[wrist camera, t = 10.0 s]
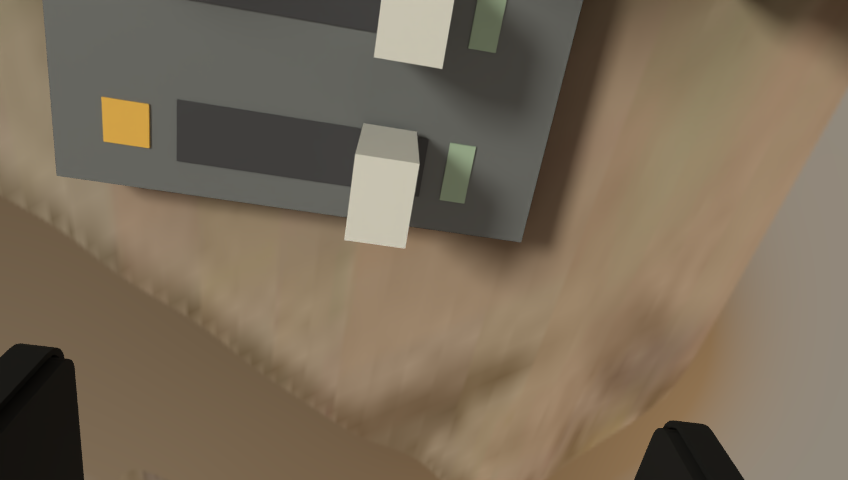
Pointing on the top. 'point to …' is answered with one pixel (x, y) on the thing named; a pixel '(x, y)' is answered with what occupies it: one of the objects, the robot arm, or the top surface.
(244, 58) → the breaker panel
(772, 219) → the top surface
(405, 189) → the block
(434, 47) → the block
